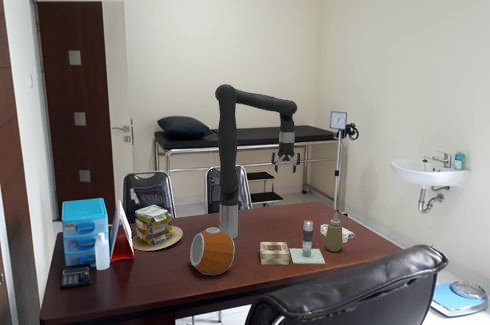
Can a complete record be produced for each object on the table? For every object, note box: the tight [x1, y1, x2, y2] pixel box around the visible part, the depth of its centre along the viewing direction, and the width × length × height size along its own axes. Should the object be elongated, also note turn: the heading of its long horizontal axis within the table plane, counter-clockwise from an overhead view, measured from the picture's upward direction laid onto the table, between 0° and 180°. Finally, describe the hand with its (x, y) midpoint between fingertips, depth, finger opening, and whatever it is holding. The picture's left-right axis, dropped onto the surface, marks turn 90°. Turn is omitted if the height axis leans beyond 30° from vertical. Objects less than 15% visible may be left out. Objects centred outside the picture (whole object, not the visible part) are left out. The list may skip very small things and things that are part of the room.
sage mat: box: [288, 247, 326, 265], centre depth 179 cm, size 14×14×1 cm
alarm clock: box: [189, 226, 236, 276], centre depth 165 cm, size 19×18×17 cm
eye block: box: [259, 241, 290, 266], centre depth 176 cm, size 12×12×5 cm
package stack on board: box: [131, 204, 184, 251], centre depth 190 cm, size 25×25×17 cm
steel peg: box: [301, 219, 314, 257], centre depth 177 cm, size 4×4×16 cm
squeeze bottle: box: [324, 212, 343, 253], centre depth 185 cm, size 8×8×18 cm
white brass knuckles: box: [319, 224, 356, 244], centre depth 203 cm, size 3×18×15 cm
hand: (285, 172), depth 199 cm, fingers open, 8 cm apart
